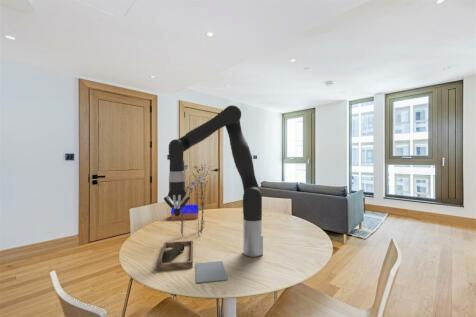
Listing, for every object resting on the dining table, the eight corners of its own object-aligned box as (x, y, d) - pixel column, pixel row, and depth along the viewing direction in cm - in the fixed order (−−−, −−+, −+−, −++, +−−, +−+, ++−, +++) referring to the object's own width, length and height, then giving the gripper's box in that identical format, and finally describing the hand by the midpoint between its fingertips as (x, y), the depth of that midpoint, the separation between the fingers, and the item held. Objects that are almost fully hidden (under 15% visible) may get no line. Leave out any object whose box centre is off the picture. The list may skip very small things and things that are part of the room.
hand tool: (177, 250, 116) (177, 241, 116) (184, 251, 115) (184, 242, 115) (156, 263, 97) (156, 252, 98) (164, 264, 96) (165, 253, 97)
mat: (222, 261, 104) (222, 260, 104) (227, 280, 88) (227, 279, 88) (196, 264, 102) (196, 263, 102) (196, 283, 86) (196, 282, 86)
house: (197, 221, 171) (197, 206, 171) (170, 222, 168) (170, 207, 168) (198, 217, 183) (198, 203, 183) (173, 218, 180) (173, 203, 180)
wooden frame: (193, 245, 124) (193, 240, 124) (192, 267, 99) (192, 261, 99) (164, 247, 121) (164, 242, 121) (156, 270, 96) (156, 264, 96)
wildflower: (213, 230, 150) (213, 162, 150) (206, 243, 127) (206, 163, 127) (180, 229, 151) (180, 162, 151) (167, 242, 128) (167, 163, 128)
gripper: (191, 179, 115) (191, 213, 115) (163, 180, 112) (164, 214, 112) (190, 180, 107) (190, 217, 107) (161, 181, 105) (162, 218, 105)
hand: (177, 215), depth 110 cm, fingers closed
